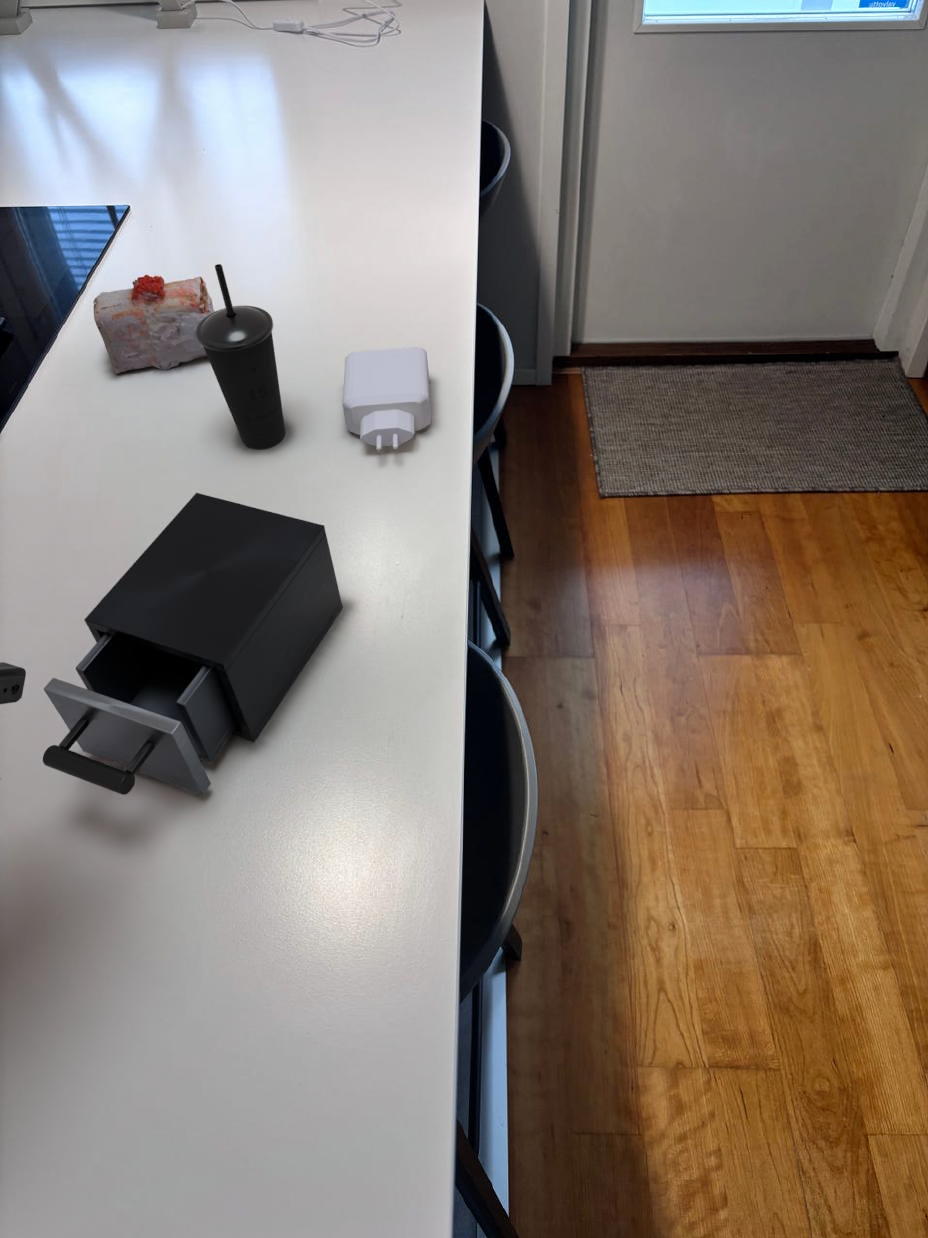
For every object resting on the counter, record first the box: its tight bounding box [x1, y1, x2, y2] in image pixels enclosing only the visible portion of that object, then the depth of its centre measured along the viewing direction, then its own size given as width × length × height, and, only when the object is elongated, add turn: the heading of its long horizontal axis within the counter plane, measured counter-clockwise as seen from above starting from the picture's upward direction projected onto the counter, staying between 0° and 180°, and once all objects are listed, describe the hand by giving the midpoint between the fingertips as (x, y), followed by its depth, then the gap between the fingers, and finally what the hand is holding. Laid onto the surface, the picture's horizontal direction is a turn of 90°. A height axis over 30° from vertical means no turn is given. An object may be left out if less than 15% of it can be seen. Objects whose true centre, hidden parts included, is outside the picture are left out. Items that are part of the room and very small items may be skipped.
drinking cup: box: [196, 263, 286, 450], centre depth 97 cm, size 8×8×20 cm
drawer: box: [42, 633, 239, 796], centre depth 75 cm, size 19×12×8 cm, turn 157°
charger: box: [342, 346, 432, 452], centre depth 103 cm, size 5×9×15 cm
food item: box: [92, 274, 216, 375], centre depth 113 cm, size 14×8×10 cm, turn 104°
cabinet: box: [84, 492, 344, 743], centre depth 80 cm, size 16×13×10 cm
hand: (14, 681), depth 59 cm, fingers closed
